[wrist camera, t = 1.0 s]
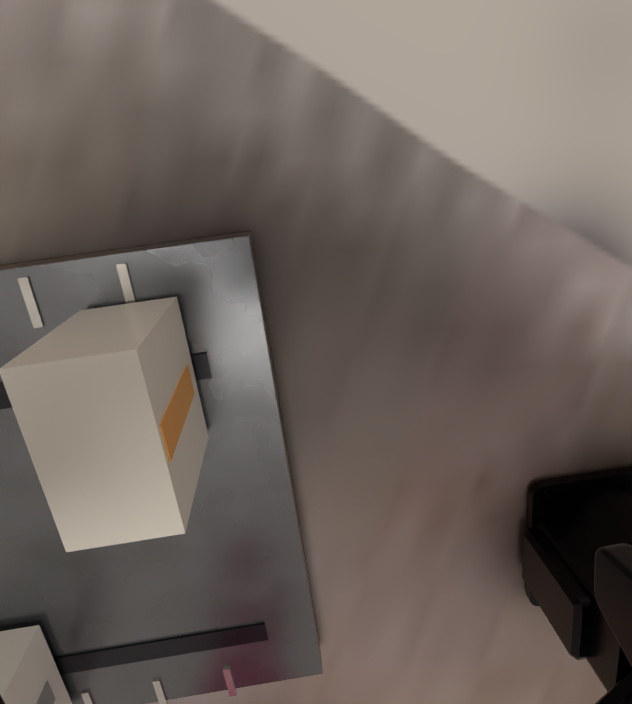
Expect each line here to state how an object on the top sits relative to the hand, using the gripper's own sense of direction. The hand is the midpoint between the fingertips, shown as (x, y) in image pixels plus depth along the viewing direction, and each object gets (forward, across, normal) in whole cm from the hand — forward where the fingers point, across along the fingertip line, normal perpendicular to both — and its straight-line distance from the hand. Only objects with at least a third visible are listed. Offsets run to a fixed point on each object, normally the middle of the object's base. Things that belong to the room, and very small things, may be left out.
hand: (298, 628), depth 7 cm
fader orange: (+10, +4, -1) cm, 11 cm away
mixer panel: (+12, +9, +4) cm, 16 cm away
